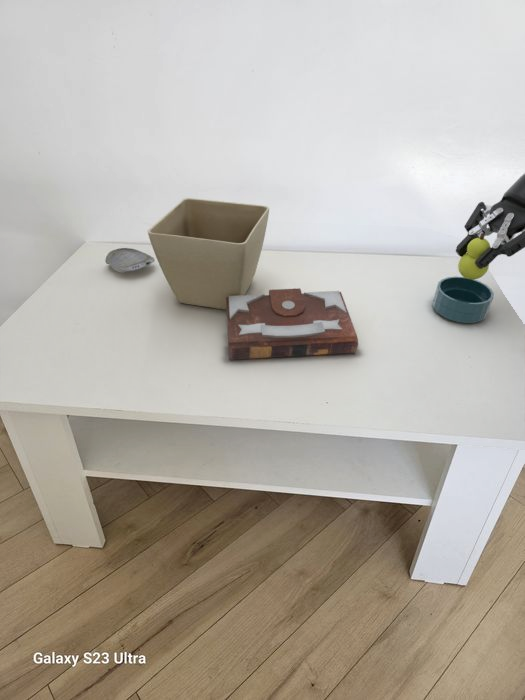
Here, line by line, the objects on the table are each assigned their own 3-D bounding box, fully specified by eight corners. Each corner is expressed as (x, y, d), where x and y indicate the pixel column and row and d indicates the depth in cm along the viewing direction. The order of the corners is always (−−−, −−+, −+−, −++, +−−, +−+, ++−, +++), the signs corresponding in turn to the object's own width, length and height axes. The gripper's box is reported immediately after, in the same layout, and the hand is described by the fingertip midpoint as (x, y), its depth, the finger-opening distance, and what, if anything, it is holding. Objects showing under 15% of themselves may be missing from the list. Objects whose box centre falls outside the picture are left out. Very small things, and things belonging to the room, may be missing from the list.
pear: (488, 277, 90) (503, 232, 85) (477, 287, 87) (492, 241, 82) (462, 268, 93) (475, 224, 88) (450, 278, 90) (462, 233, 85)
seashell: (97, 276, 105) (92, 256, 102) (114, 259, 112) (110, 240, 109) (146, 281, 104) (143, 261, 100) (160, 264, 110) (157, 245, 107)
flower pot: (191, 266, 109) (184, 196, 99) (269, 276, 106) (270, 205, 95) (157, 309, 95) (145, 232, 84) (246, 323, 91) (244, 244, 81)
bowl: (493, 309, 95) (501, 288, 92) (473, 332, 89) (481, 310, 86) (445, 291, 101) (451, 271, 98) (422, 311, 95) (428, 290, 92)
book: (229, 364, 82) (228, 344, 79) (226, 310, 94) (225, 290, 90) (355, 357, 84) (359, 337, 81) (337, 305, 95) (340, 285, 92)
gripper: (502, 163, 86) (434, 234, 90) (568, 187, 76) (489, 266, 80) (514, 187, 91) (449, 254, 95) (577, 214, 81) (502, 287, 84)
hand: (468, 259), depth 87 cm, fingers closed on pear, 4 cm apart
